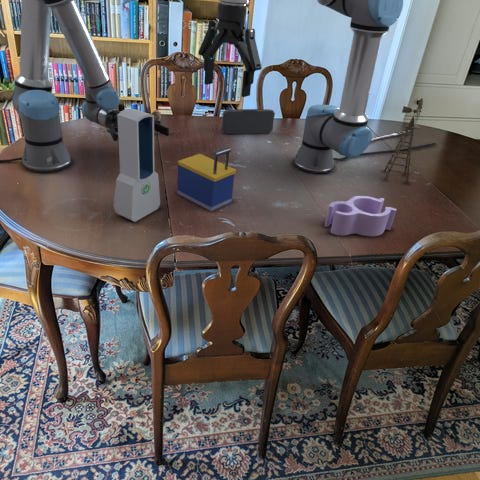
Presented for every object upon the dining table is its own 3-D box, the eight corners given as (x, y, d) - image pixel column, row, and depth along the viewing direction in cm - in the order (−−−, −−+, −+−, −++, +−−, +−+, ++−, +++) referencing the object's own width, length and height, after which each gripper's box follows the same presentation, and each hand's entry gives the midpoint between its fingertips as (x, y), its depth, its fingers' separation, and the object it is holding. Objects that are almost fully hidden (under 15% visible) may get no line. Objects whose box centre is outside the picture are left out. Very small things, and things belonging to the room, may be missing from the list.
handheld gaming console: (270, 130, 208) (273, 108, 202) (272, 133, 206) (275, 110, 200) (221, 132, 201) (222, 109, 195) (222, 134, 199) (224, 111, 193)
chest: (231, 201, 149) (234, 172, 144) (211, 211, 143) (213, 181, 137) (198, 184, 157) (199, 157, 151) (177, 193, 150) (177, 164, 145)
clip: (337, 240, 135) (342, 219, 131) (318, 218, 145) (322, 198, 141) (395, 233, 141) (402, 213, 137) (373, 213, 151) (378, 194, 147)
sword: (405, 131, 224) (406, 128, 224) (410, 133, 222) (411, 130, 222) (362, 142, 208) (362, 140, 208) (367, 144, 206) (368, 142, 206)
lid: (235, 173, 143) (238, 147, 139) (214, 181, 137) (216, 155, 133) (199, 156, 151) (200, 132, 147) (177, 164, 145) (178, 139, 140)
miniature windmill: (407, 184, 173) (433, 103, 157) (384, 180, 174) (407, 99, 158) (405, 174, 181) (429, 96, 164) (383, 170, 182) (405, 93, 165)
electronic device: (132, 223, 132) (128, 120, 116) (113, 215, 135) (106, 113, 119) (161, 207, 141) (161, 110, 125) (142, 199, 144) (140, 103, 128)
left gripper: (141, 122, 178) (180, 138, 167) (85, 138, 162) (123, 157, 151) (140, 102, 174) (179, 118, 163) (82, 117, 158) (121, 135, 147)
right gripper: (282, 11, 112) (270, 99, 124) (207, -4, 125) (203, 77, 136) (263, 12, 107) (253, 104, 119) (187, -4, 120) (184, 80, 131)
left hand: (152, 137), depth 157 cm, fingers open, 13 cm apart
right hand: (226, 89), depth 127 cm, fingers open, 13 cm apart
